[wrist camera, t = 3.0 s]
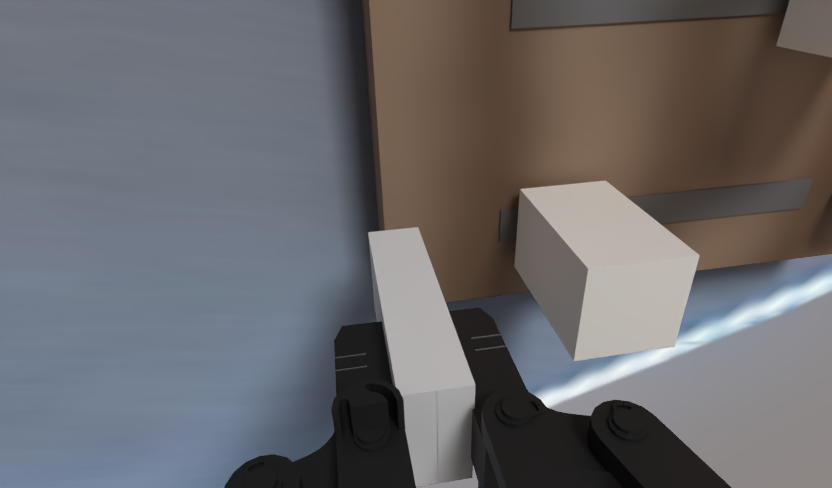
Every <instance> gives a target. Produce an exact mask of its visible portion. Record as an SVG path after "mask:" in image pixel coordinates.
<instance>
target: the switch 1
mask: <svg viewBox="0 0 832 488" xmlns="http://www.w3.org/2000/svg"><path fill="white" fill-rule="evenodd" d="M699 256H700V255H699V254H697V253H696V252H695V251H694V250H692V249H691V248H690V247H689V246H687V245H686V244H685V243H684V242H682V241H681V240H680V239H679V238H677V237H676V236H675V235H674V234H672V233H671V232H670V231H669V230H667V229H666V228H665V227H663V226H662V225H661V224H660V223H658V222H657V221H656V220H655V219H653V218H652V217H651V216H650V215H648V214H647V213H646V212H645V211H643V210H642V209H641V208H640V207H638V206H637V205H636V204H635V203H633V202H632V201H631V200H630V199H628V198H627V197H626V196H624V195H623V194H622V193H621V192H619V191H618V190H617V189H616V188H614V187H613V186H612V185H611V184H609V183H608V182H607V181H596V182H586V183H576V184H566V185H556V186H546V187H536V188H525V189H520V196H519V209H518V223H517V237H516V250H515V264H514V267H515V268H516V270H517V271H518V273H519V275H520V276H521V278H522V279H523V281H524V283H525V284H526V286H527V287H528V289H529V291H530V292H531V294H532V295H533V297H534V298H535V300H536V302H537V303H538V305H539V306H540V308H541V310H542V311H543V313H544V314H545V316H546V318H547V319H548V321H549V322H550V324H551V326H552V327H553V329H554V330H555V332H556V334H557V335H558V337H559V338H560V340H561V341H562V343H563V345H564V346H565V348H566V349H567V351H568V353H569V354H570V356H571V357H572V359H573V361H578V360H585V359H592V358H599V357H606V356H612V355H619V354H626V353H633V352H640V351H647V350H654V349H661V348H668V347H674V346H675V343H676V339H677V336H678V332H679V328H680V325H681V321H682V318H683V314H684V310H685V307H686V303H687V300H688V296H689V292H690V289H691V285H692V282H693V278H694V274H695V271H696V267H697V264H698V260H699Z"/></svg>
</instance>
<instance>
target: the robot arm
mask: <svg viewBox="0 0 832 488" xmlns="http://www.w3.org/2000/svg"><path fill="white" fill-rule="evenodd" d="M368 238H369V249H370V261H371V272H372V284H373V296H374V307H375V313H376V320H377V322H372V323H364V324H356V325H349V326H342V327H341V329H340V331H339V333H338V335H337V337H336V339H335V340H334V346H335V369H336V392H337V396H336V397H335V399H334V401H333V406H332V416H333V422H334V429H335V431H334V434H333V435H332V437H331V438H330V439H329V441H328V442H327V443H326V444H325V445H324V446H322V447H321V448H320V449H319V450H317V451H315V452H314V453H312V454H310V455H308V456H306V457H304V458H301V459H299V460H297V461H295V462H292V461H291V460H289V459H288V458H287V457H283V456H278V455H266V456H259V457H257V458H255V459H252V460H250V461H248V462H246V463H244V464H243V465H242V466H241V467H240V468H238V469H237V470H236V471H235V472H234V473H233V474H232V476H231V477H230V479H229V480H228V482H227V483H226V485H225V487H224V488H416V487H419V486H425V485H431V484H437V483H443V482H449V481H454V480H461V479H466V478H472V470H473V468H472V467H473V465H474V469H475V472H476V475H477V479H478V488H731V487H730V486H729V485H728V484H727V483H726V482H725V481H724V480H723V479H721V478H720V477H719V476H718V475H717V474H716V473H715V472H714V471H713V470H712V469H711V468H710V467H709V466H708V465H707V464H706V463H705V462H703V461H702V460H701V459H700V458H699V457H698V456H697V455H696V454H695V453H694V452H693V451H692V450H691V449H690V448H689V447H687V446H686V445H685V444H684V443H683V442H682V441H681V440H680V439H679V438H678V437H677V436H676V435H675V434H673V432H672V431H670V430H669V429H668V428H667V427H666V426H665V425H664V424H663V423H662V422H661V421H660V420H659V419H658V418H657V417H656V416H654V415H653V414H652V413H650V412H649V411H648V410H646V409H645V408H643V407H642V406H639V405H637V404H634V403H631V402H628V401H621V400H612V401H607V402H603V403H601V404H600V405H598V406H597V407H596V408H595V409H594V411H593V413H592V415H591V416H584V415H576V414H568V413H562V412H558V411H554V410H552V409H549V408H547V407H546V406H545V405H544V404H543V402H542V401H541V400H540V399H539V398H537V397H536V396H534V395H533V394H531V393H529V392H528V390H527V389H526V387H525V385H524V383H523V381H522V378H521V376H520V374H519V372H518V370H517V368H516V366H515V364H514V362H513V360H512V357H511V355H510V353H509V351H508V349H507V347H505V343H504V341H503V339H502V336H500V332H499V330H498V328H497V326H496V324H495V322H494V320H493V318H491V317H490V316H489V315H488V314H487V313H485V312H484V311H483V310H482V309H480V308H473V309H465V310H457V311H448V308H447V305H446V302H445V300H444V297H443V294H442V291H441V289H440V286H439V283H438V280H437V278H436V275H435V272H434V269H433V267H432V264H431V261H430V258H429V256H428V253H427V250H426V247H425V245H424V242H423V239H422V236H421V234H420V231H419V228H418V227H414V228H404V229H395V230H385V231H376V232H368Z"/></svg>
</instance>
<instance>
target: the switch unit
mask: <svg viewBox="0 0 832 488" xmlns="http://www.w3.org/2000/svg"><path fill="white" fill-rule="evenodd" d="M789 1H790V0H361V2H362V15H363V29H364V42H365V55H366V69H367V82H368V95H369V108H370V122H371V135H372V148H373V162H374V175H375V188H376V201H377V215H378V228H379V231H385V230H395V229H404V228H414V227H418V228H419V231H420V234H421V236H422V239H423V242H424V245H425V247H426V250H427V253H428V256H429V258H430V261H431V264H432V267H433V269H434V272H435V275H436V278H437V280H438V283H439V286H440V289H441V291H442V294H443V297H444V300H445V302H452V301H460V300H468V299H476V298H484V297H492V296H500V295H508V294H516V293H524V292H530V291H529V289H528V287H527V286H526V284H525V283H524V281H523V279H522V278H521V276H520V275H519V273H518V271H517V270H516V268H515V267H514V264H515V250H516V237H517V223H518V209H519V196H520V189H525V188H536V187H546V186H556V185H566V184H576V183H586V182H596V181H607V182H608V183H609V184H611V185H612V186H613V187H614V188H616V189H617V190H618V191H619V192H621V193H622V194H623V195H624V196H626V197H627V198H628V199H630V200H631V201H632V202H633V203H635V204H636V205H637V206H638V207H640V208H641V209H642V210H643V211H645V212H646V213H647V214H648V215H650V216H651V217H652V218H653V219H655V220H656V221H657V222H658V223H660V224H661V225H662V226H663V227H665V228H666V229H667V230H669V231H670V232H671V233H672V234H674V235H675V236H676V237H677V238H679V239H680V240H681V241H682V242H684V243H685V244H686V245H687V246H689V247H690V248H691V249H692V250H694V251H695V252H696V253H697V254H699V255H700V256H699V260H698V264H697V267H696V271H699V270H707V269H715V268H723V267H731V266H739V265H747V264H755V263H763V262H771V261H779V260H787V259H795V258H803V257H811V256H819V255H827V254H832V58H831V57H826V56H822V55H817V54H812V53H807V52H802V51H798V50H793V49H788V48H783V47H779V46H776V45H777V41H778V38H779V35H780V31H781V28H782V24H783V21H784V18H785V14H786V11H787V7H788V4H789Z"/></svg>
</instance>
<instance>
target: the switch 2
mask: <svg viewBox="0 0 832 488" xmlns="http://www.w3.org/2000/svg"><path fill="white" fill-rule="evenodd" d="M776 46H779V47H783V48H788V49H793V50H798V51H802V52H807V53H812V54H817V55H822V56H826V57H831V58H832V0H790V1H789V4H788V7H787V11H786V14H785V18H784V21H783V24H782V28H781V31H780V35H779V38H778V41H777V45H776Z"/></svg>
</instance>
